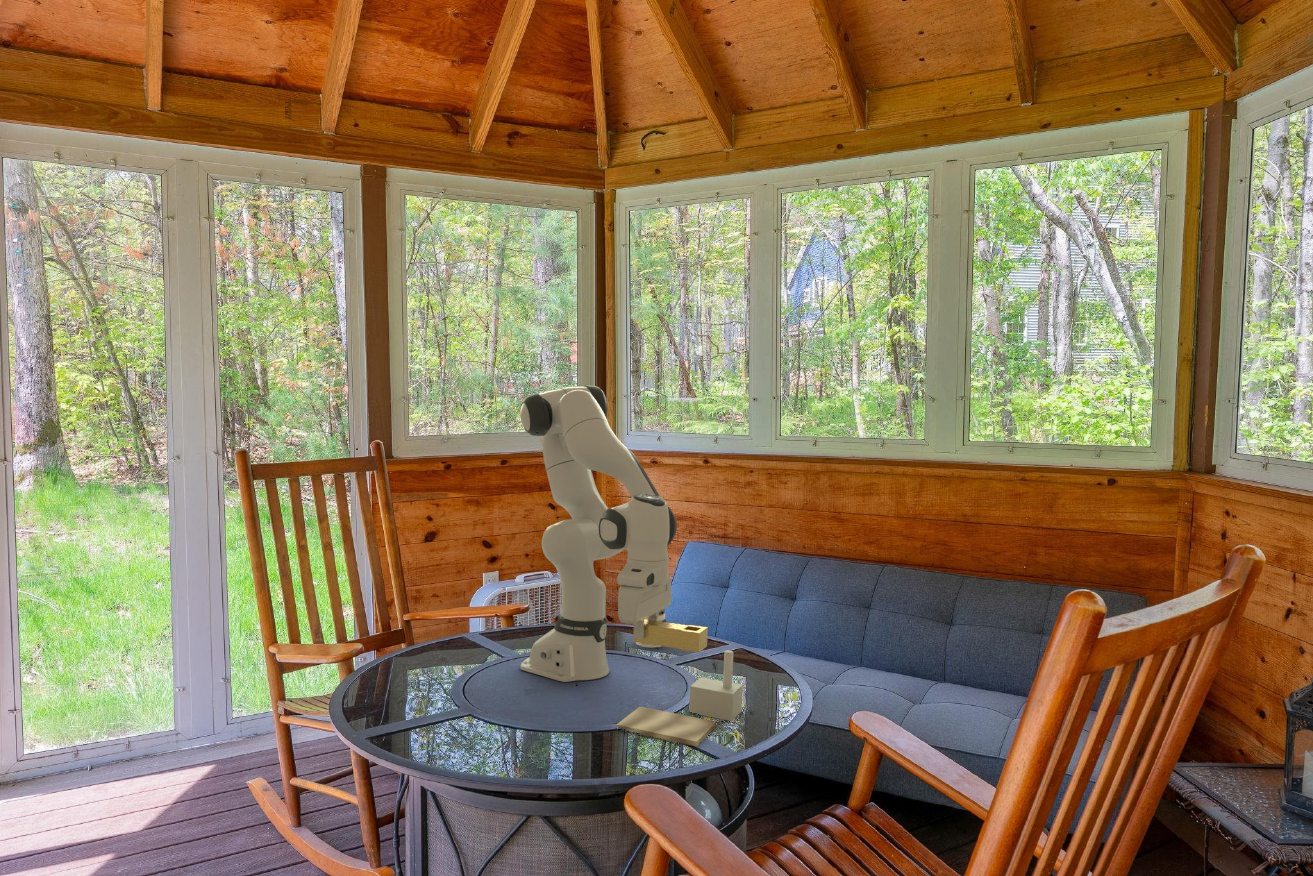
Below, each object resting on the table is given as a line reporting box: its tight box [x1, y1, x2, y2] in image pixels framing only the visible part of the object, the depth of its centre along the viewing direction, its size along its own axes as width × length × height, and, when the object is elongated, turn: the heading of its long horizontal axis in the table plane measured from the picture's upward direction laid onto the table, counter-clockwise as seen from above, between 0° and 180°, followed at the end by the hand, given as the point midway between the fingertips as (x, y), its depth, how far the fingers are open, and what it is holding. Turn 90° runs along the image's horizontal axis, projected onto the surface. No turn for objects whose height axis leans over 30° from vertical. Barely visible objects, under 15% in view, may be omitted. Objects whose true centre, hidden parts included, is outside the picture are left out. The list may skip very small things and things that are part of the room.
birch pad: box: [615, 706, 717, 747], centre depth 180 cm, size 18×12×1 cm, turn 67°
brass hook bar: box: [632, 620, 709, 653], centre depth 179 cm, size 15×5×4 cm, turn 67°
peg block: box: [688, 650, 744, 722], centre depth 190 cm, size 10×7×14 cm
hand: (645, 635), depth 181 cm, fingers closed on brass hook bar, 4 cm apart
